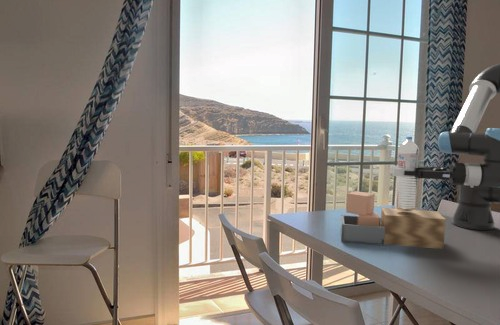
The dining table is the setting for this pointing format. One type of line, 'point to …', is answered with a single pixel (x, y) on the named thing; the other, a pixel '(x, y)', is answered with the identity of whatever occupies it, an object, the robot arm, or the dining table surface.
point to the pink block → (368, 220)
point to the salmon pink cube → (360, 203)
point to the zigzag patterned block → (413, 228)
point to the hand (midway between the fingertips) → (392, 170)
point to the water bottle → (407, 185)
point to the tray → (360, 232)
